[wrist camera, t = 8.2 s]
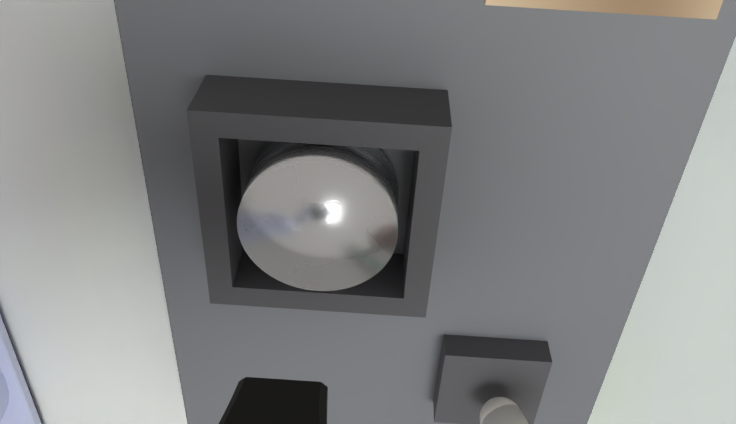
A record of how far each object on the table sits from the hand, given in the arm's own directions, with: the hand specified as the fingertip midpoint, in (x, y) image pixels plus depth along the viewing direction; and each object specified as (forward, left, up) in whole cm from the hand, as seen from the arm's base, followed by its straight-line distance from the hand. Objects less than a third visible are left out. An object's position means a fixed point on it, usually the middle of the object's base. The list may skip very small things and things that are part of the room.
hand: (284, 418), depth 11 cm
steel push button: (0, 0, -7) cm, 7 cm away
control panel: (+2, 0, -8) cm, 9 cm away
